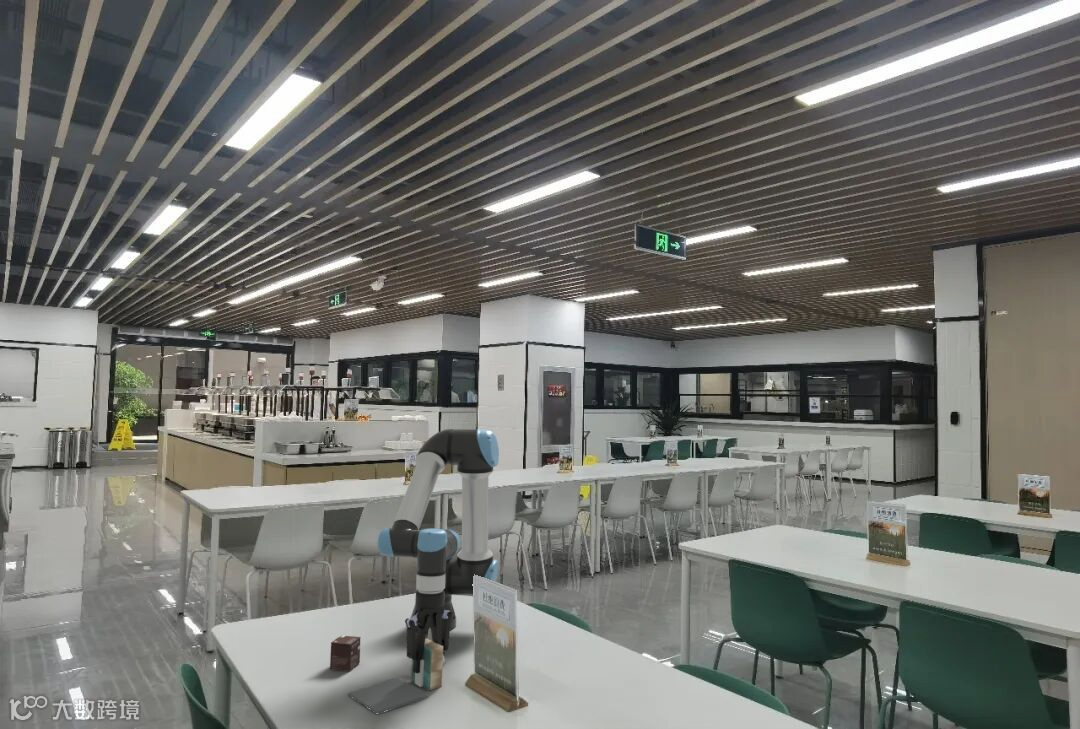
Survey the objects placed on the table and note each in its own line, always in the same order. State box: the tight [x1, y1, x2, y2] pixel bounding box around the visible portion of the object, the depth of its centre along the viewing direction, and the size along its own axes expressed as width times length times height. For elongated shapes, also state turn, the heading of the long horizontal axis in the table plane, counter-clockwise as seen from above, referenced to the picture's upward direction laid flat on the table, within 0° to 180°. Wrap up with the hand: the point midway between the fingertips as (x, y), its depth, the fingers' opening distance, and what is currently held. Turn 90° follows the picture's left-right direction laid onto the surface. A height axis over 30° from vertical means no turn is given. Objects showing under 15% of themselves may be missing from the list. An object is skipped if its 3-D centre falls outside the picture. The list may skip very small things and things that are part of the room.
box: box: [329, 635, 361, 672], centre depth 181 cm, size 6×6×7 cm
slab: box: [410, 637, 444, 691], centre depth 171 cm, size 4×8×10 cm, turn 43°
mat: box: [347, 677, 429, 714], centre depth 163 cm, size 14×14×1 cm
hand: (426, 682), depth 171 cm, fingers closed on slab, 4 cm apart
